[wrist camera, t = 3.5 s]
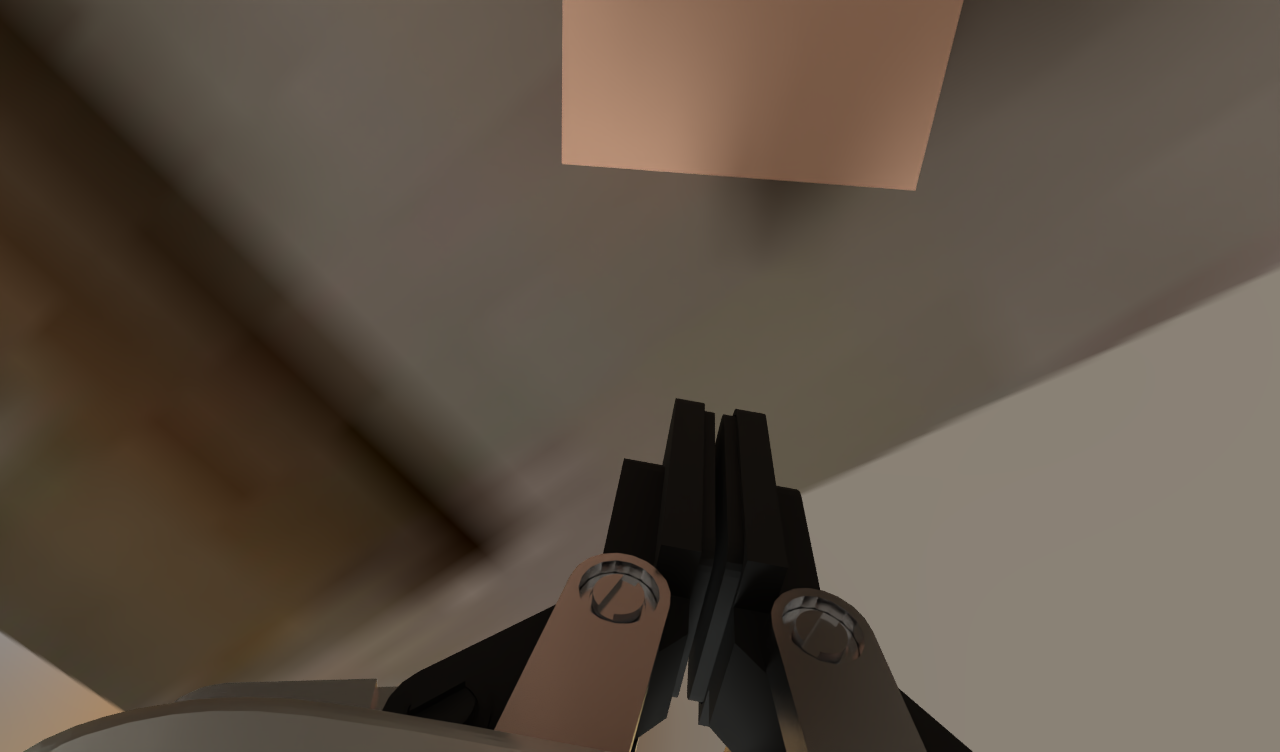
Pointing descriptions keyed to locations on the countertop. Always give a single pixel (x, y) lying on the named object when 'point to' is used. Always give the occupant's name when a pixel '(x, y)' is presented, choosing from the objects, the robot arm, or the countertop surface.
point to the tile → (756, 87)
